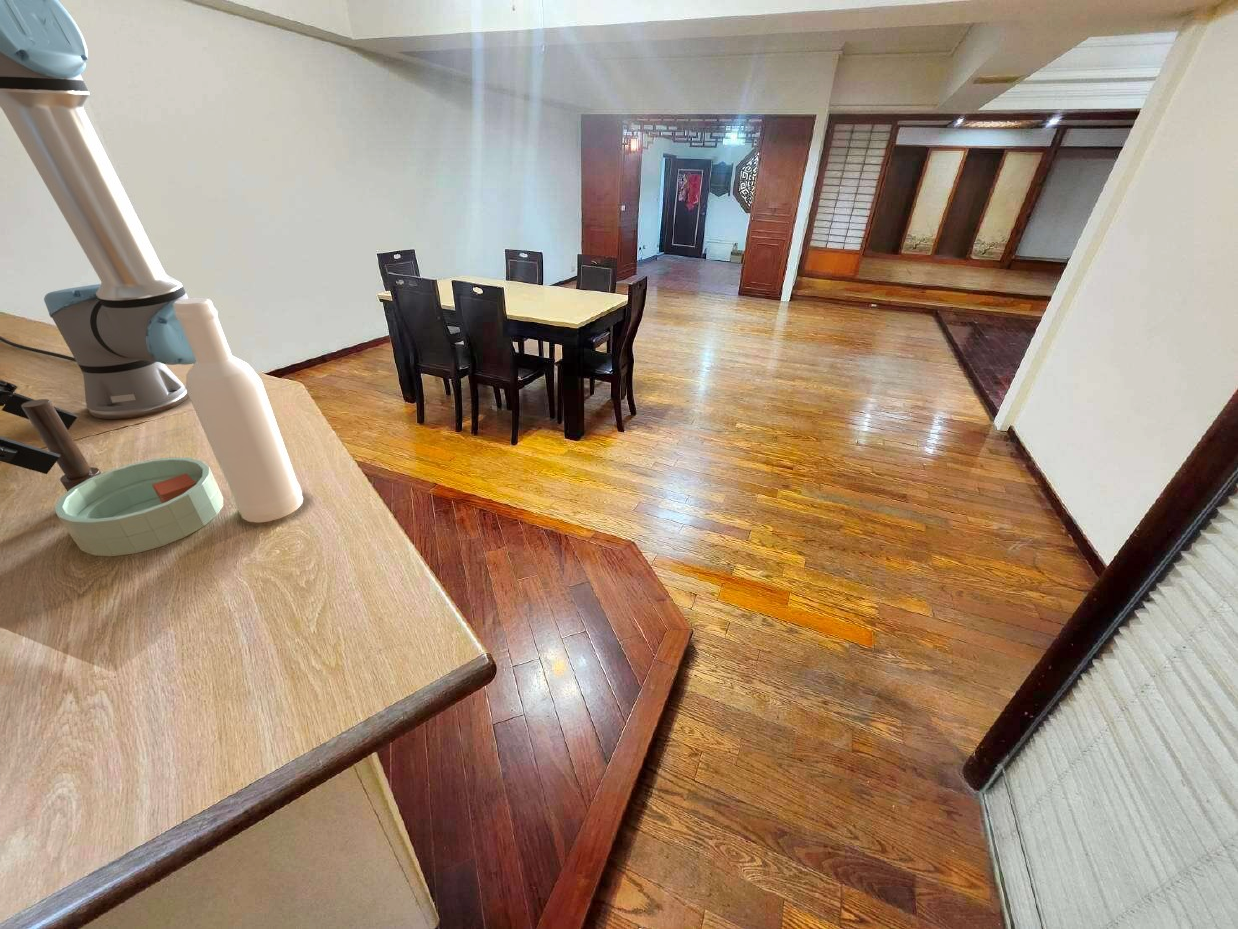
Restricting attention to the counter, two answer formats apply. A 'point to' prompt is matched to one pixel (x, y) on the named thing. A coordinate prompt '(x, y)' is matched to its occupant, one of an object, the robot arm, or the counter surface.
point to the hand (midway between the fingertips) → (64, 442)
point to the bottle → (237, 419)
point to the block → (173, 487)
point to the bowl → (138, 507)
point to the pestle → (59, 442)
